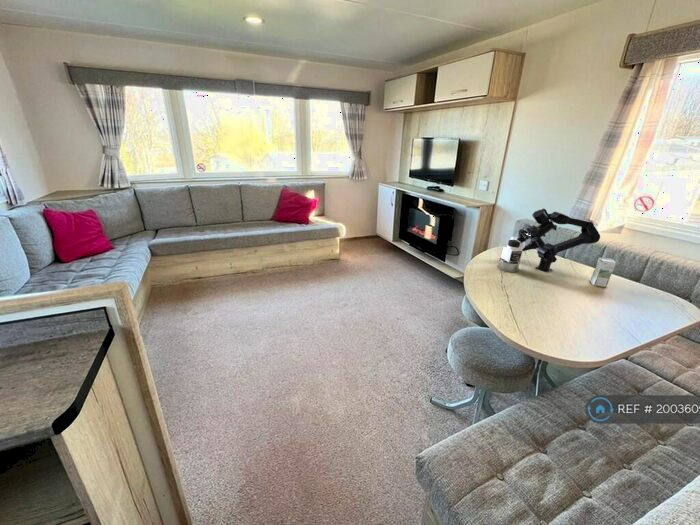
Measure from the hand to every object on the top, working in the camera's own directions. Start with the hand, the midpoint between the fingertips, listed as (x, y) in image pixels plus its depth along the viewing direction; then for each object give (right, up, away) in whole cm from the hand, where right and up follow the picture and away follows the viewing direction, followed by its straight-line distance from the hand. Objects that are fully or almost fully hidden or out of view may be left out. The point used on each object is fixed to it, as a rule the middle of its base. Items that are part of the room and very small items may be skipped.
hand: (518, 247), depth 177 cm
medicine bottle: (-3, -7, +3) cm, 8 cm away
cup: (+7, -7, +19) cm, 21 cm away
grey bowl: (-4, -12, +5) cm, 13 cm away
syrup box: (+36, -20, -11) cm, 43 cm away
